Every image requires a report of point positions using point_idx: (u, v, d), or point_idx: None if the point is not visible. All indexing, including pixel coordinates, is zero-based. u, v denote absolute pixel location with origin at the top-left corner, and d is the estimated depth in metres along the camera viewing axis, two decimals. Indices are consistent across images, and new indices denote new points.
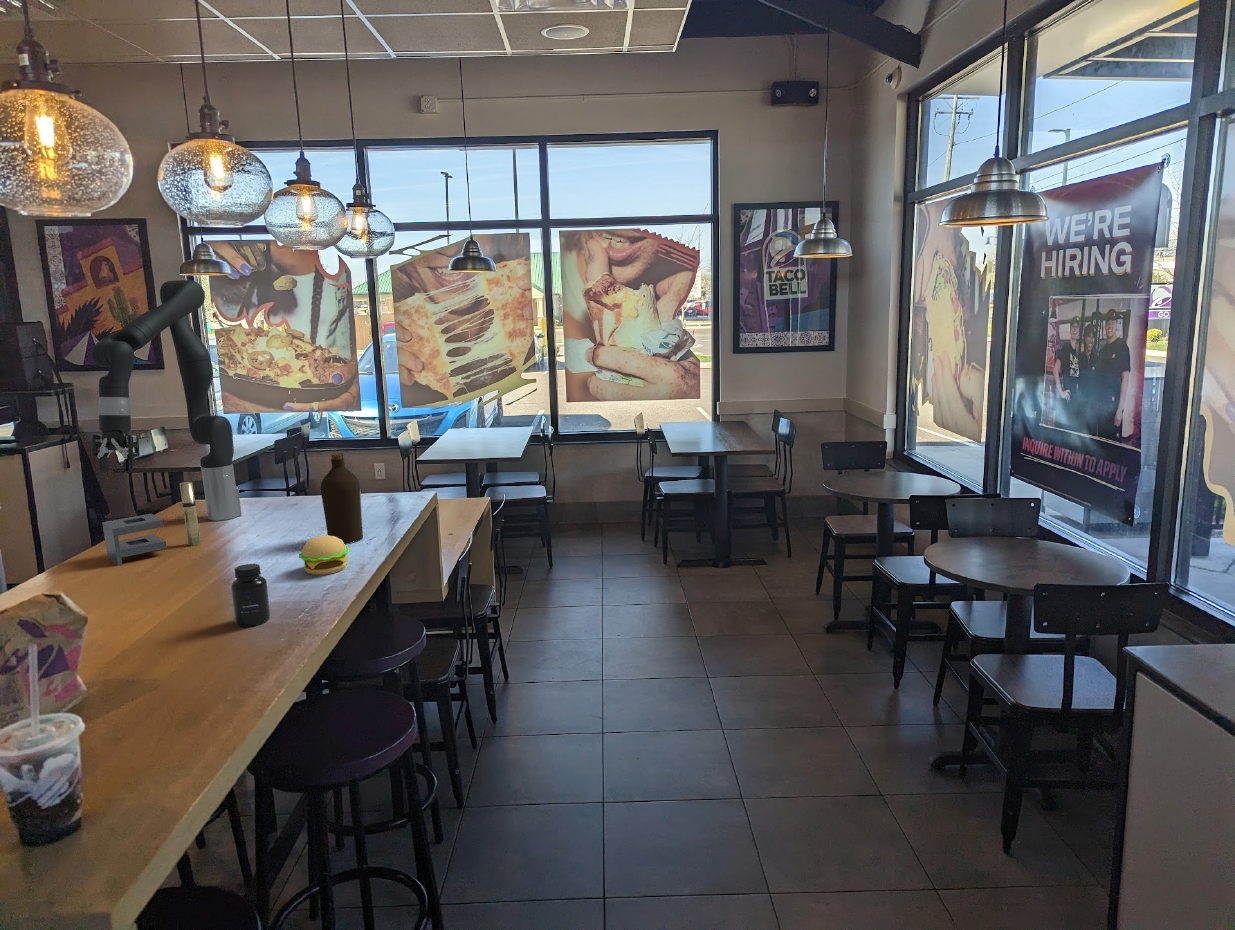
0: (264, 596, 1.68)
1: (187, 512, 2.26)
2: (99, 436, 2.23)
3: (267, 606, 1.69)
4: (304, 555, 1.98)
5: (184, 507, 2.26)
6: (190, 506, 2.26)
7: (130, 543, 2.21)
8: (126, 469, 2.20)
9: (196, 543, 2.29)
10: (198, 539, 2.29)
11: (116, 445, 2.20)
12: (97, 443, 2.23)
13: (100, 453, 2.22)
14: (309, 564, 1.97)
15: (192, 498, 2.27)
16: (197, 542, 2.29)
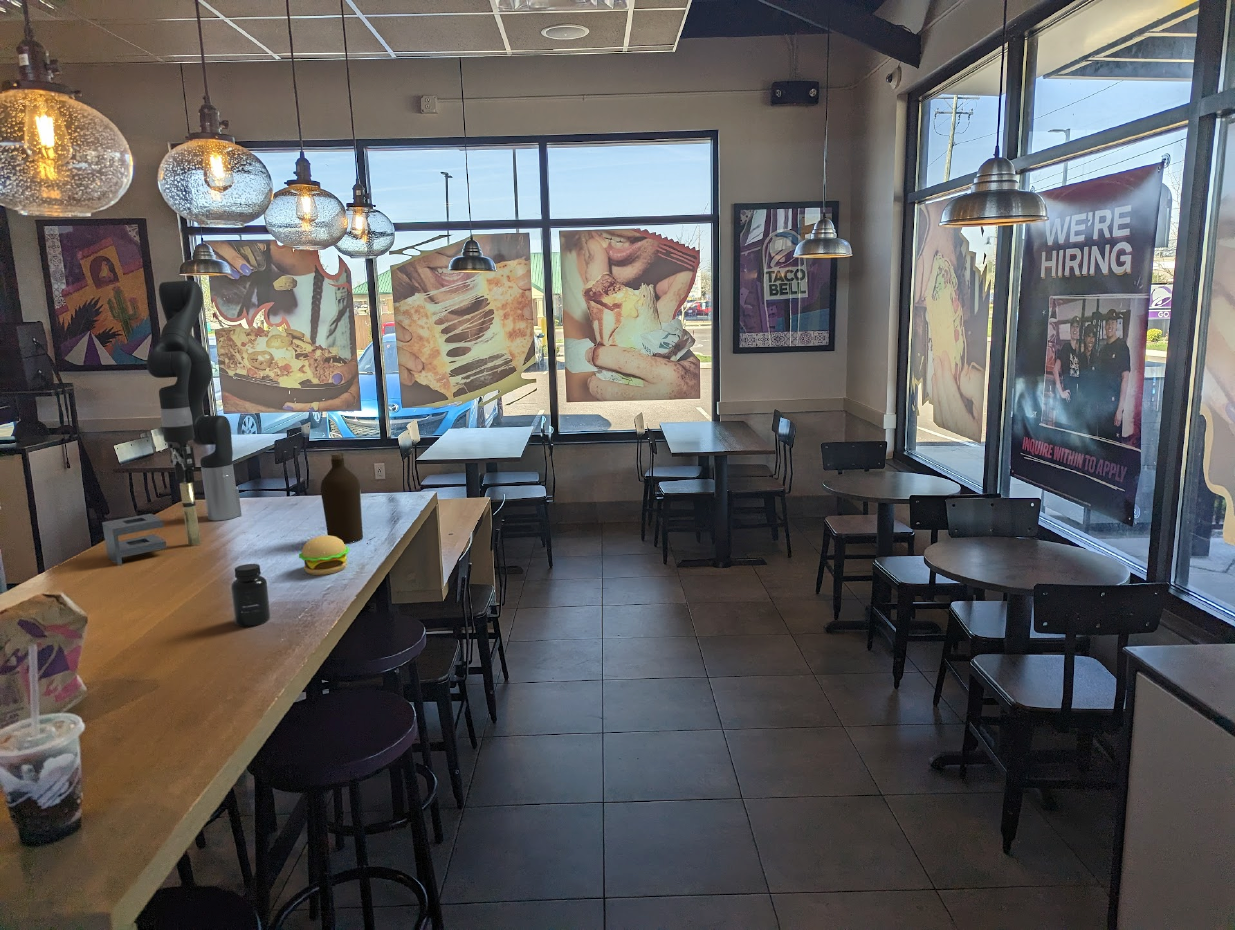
0: (265, 596, 1.68)
1: (187, 512, 2.26)
2: None
3: (267, 606, 1.69)
4: (304, 555, 1.98)
5: (184, 507, 2.26)
6: (190, 506, 2.26)
7: (130, 543, 2.21)
8: (186, 480, 2.22)
9: (196, 543, 2.29)
10: (198, 539, 2.29)
11: (177, 456, 2.22)
12: None
13: (173, 461, 2.27)
14: (309, 564, 1.97)
15: (192, 498, 2.27)
16: (197, 542, 2.29)
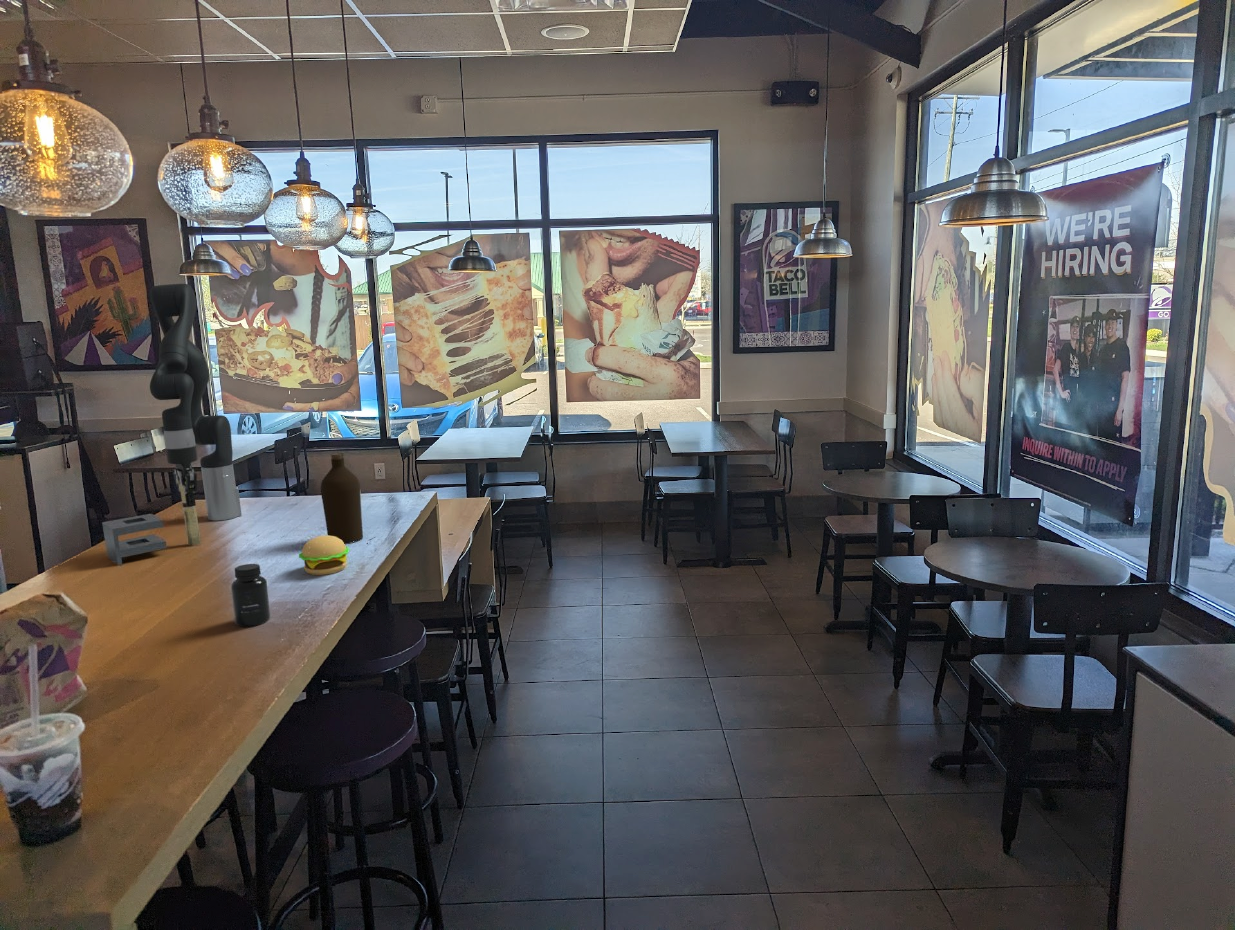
0: (264, 596, 1.68)
1: (187, 512, 2.26)
2: None
3: (267, 606, 1.69)
4: (304, 555, 1.98)
5: (184, 507, 2.26)
6: None
7: (130, 543, 2.21)
8: (187, 503, 2.25)
9: (196, 543, 2.29)
10: (198, 539, 2.29)
11: (180, 478, 2.24)
12: None
13: (179, 487, 2.27)
14: (309, 564, 1.97)
15: None
16: (197, 542, 2.29)
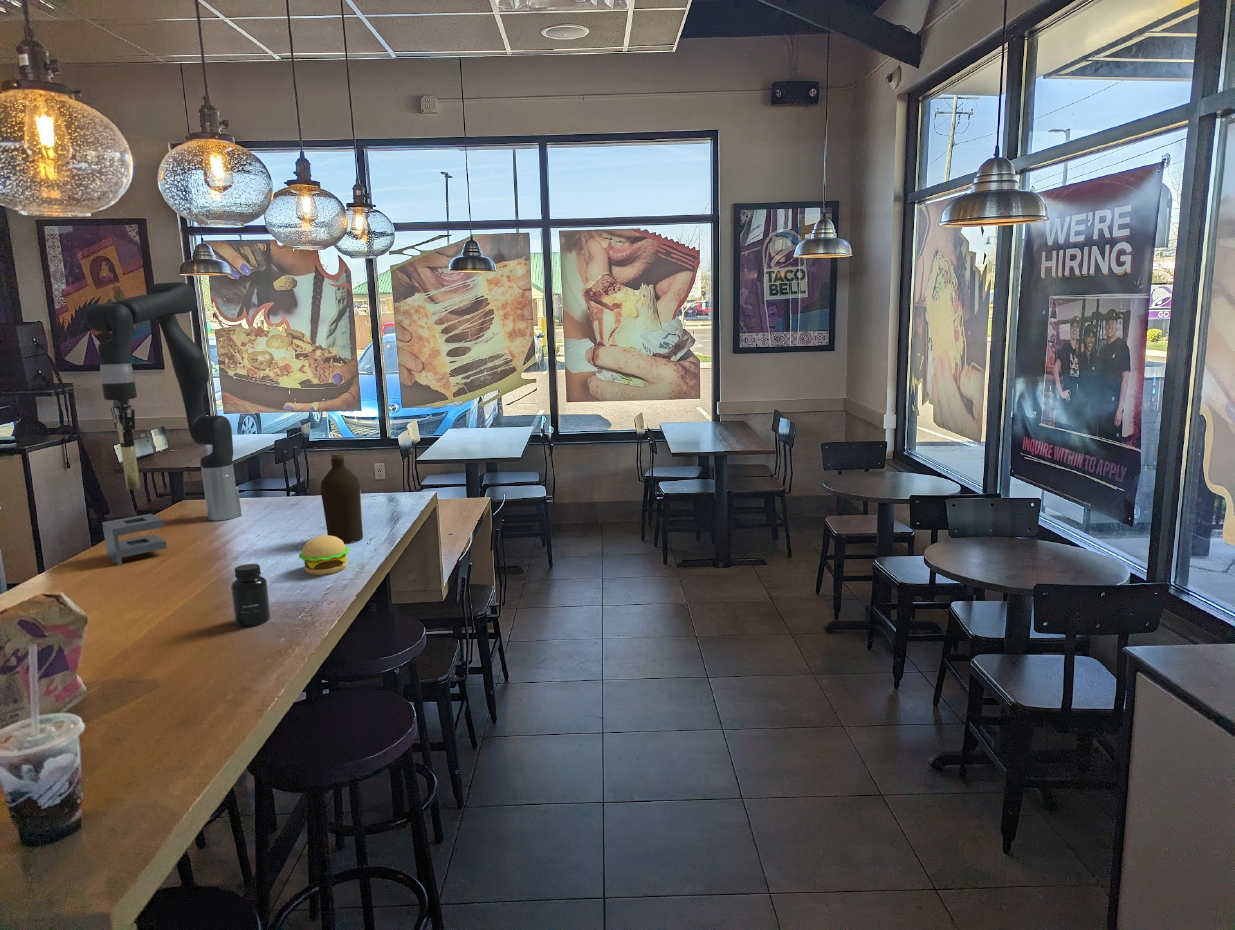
0: (265, 596, 1.68)
1: (125, 453, 2.14)
2: None
3: (267, 606, 1.69)
4: (304, 555, 1.98)
5: (122, 447, 2.14)
6: None
7: (130, 543, 2.21)
8: (125, 443, 2.13)
9: (135, 486, 2.16)
10: (137, 482, 2.16)
11: (117, 415, 2.11)
12: None
13: (117, 426, 2.15)
14: (309, 564, 1.97)
15: None
16: (135, 485, 2.16)
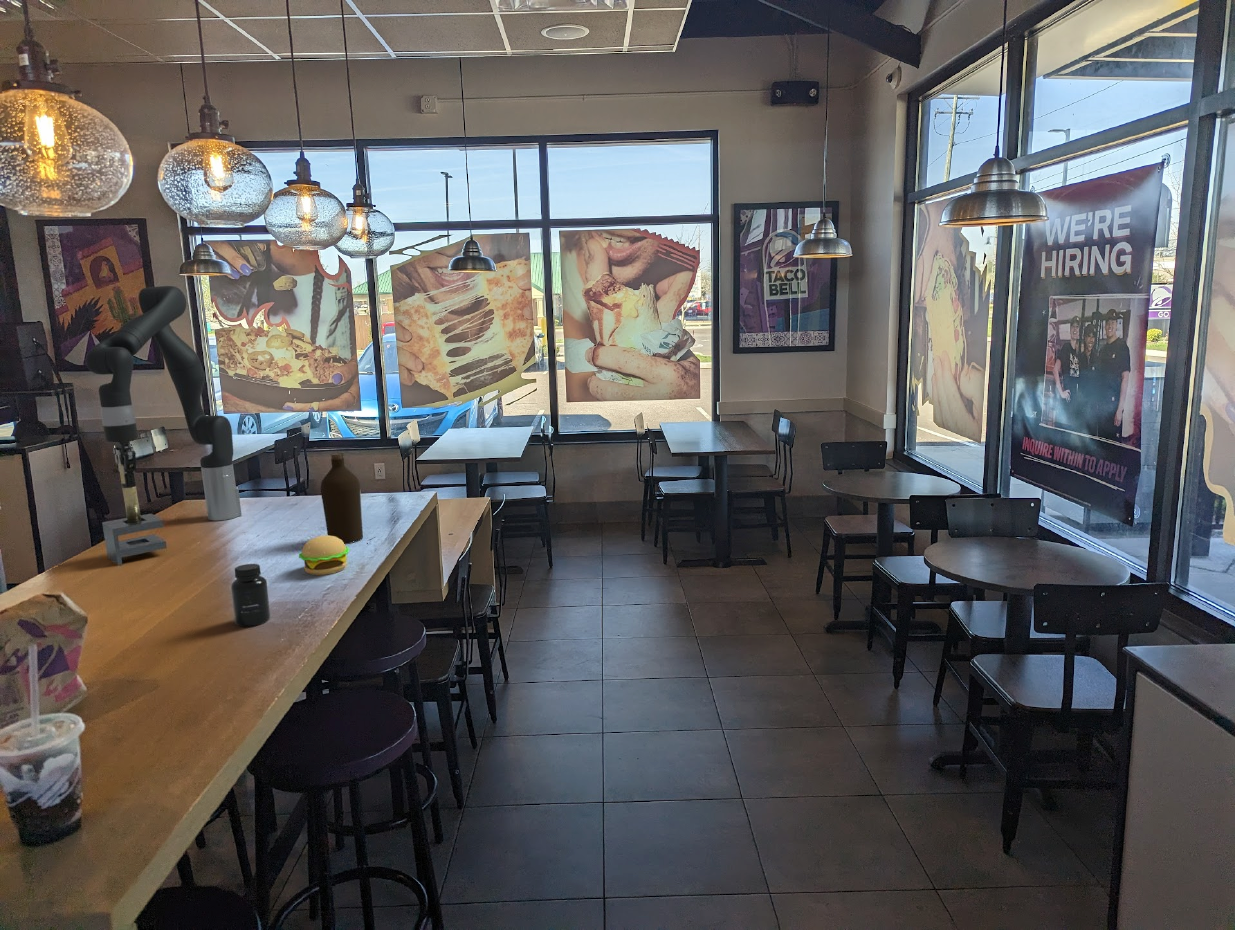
0: (264, 596, 1.68)
1: (127, 493, 2.15)
2: None
3: (267, 606, 1.69)
4: (304, 555, 1.98)
5: (123, 488, 2.15)
6: None
7: (130, 543, 2.21)
8: (127, 484, 2.14)
9: None
10: None
11: (118, 457, 2.13)
12: None
13: None
14: (309, 564, 1.97)
15: None
16: None
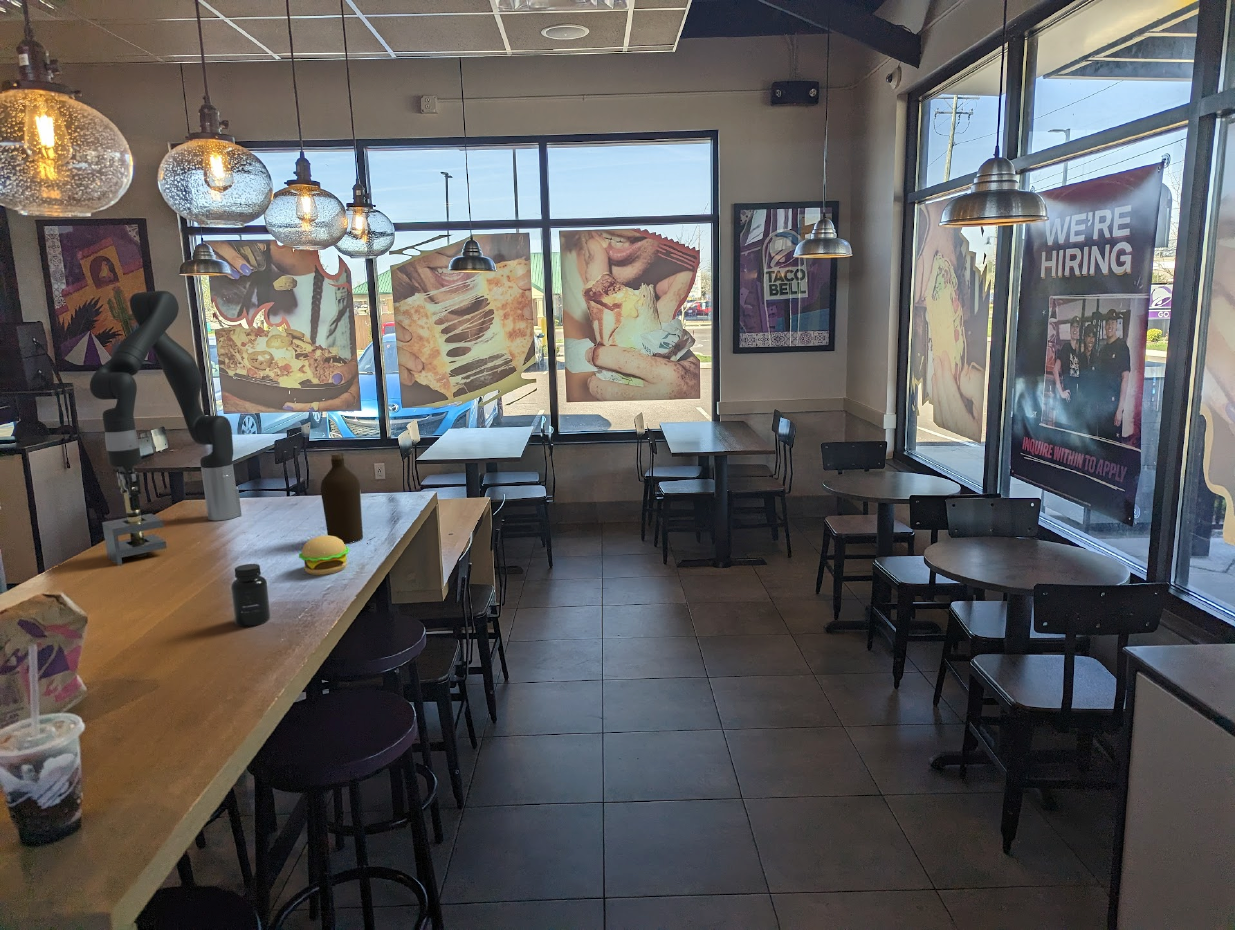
0: (265, 596, 1.68)
1: None
2: None
3: (267, 606, 1.69)
4: (304, 555, 1.98)
5: (128, 517, 2.17)
6: (134, 516, 2.17)
7: (130, 543, 2.21)
8: (131, 507, 2.14)
9: (141, 555, 2.19)
10: None
11: (122, 481, 2.14)
12: None
13: (121, 488, 2.18)
14: (309, 564, 1.97)
15: None
16: (142, 554, 2.19)
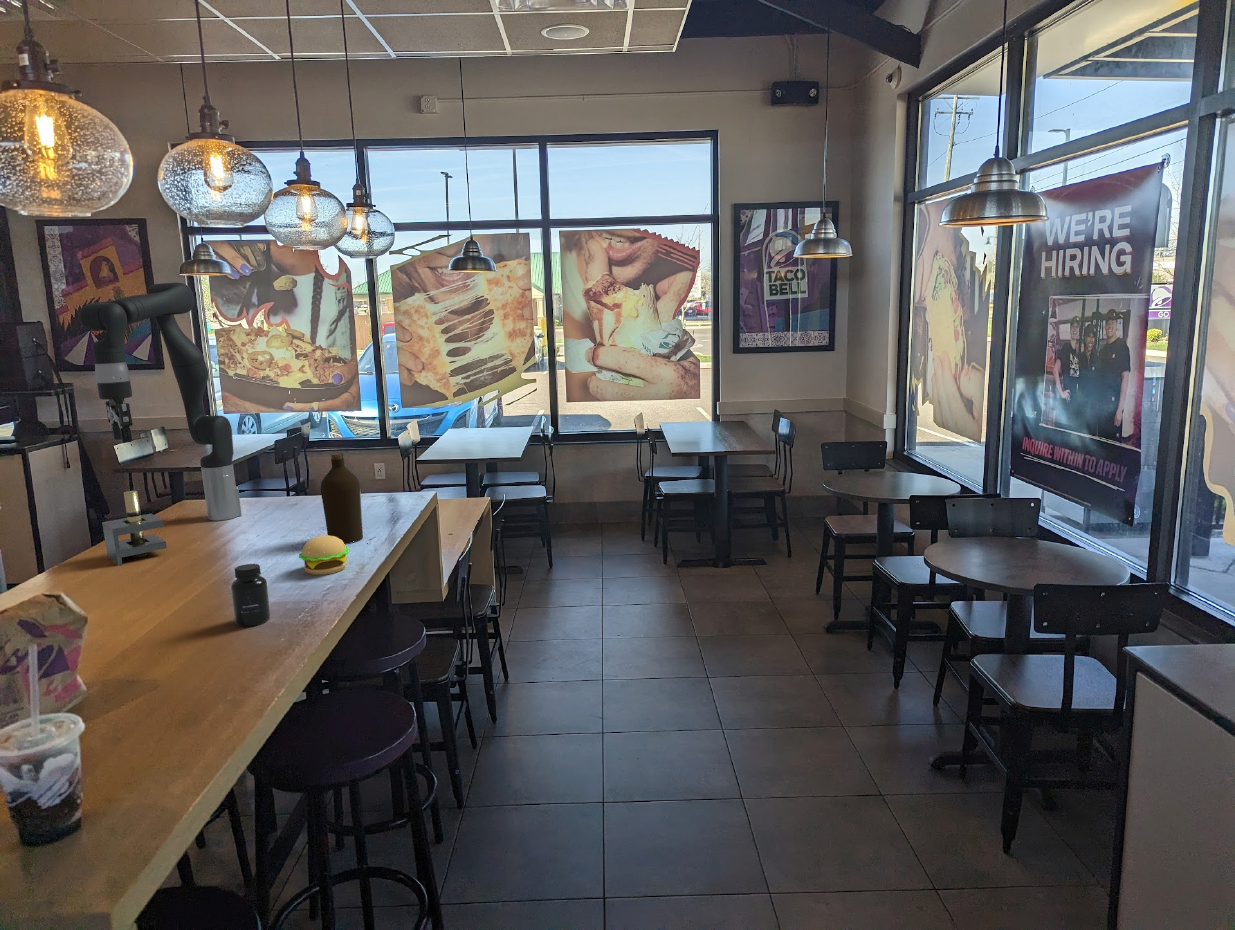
0: (265, 596, 1.68)
1: (132, 522, 2.17)
2: None
3: (267, 606, 1.69)
4: (304, 555, 1.98)
5: (128, 517, 2.17)
6: (134, 515, 2.17)
7: (130, 543, 2.21)
8: (123, 439, 2.11)
9: (141, 554, 2.19)
10: None
11: (113, 414, 2.11)
12: None
13: (110, 420, 2.16)
14: (309, 564, 1.97)
15: (137, 507, 2.17)
16: (142, 554, 2.19)
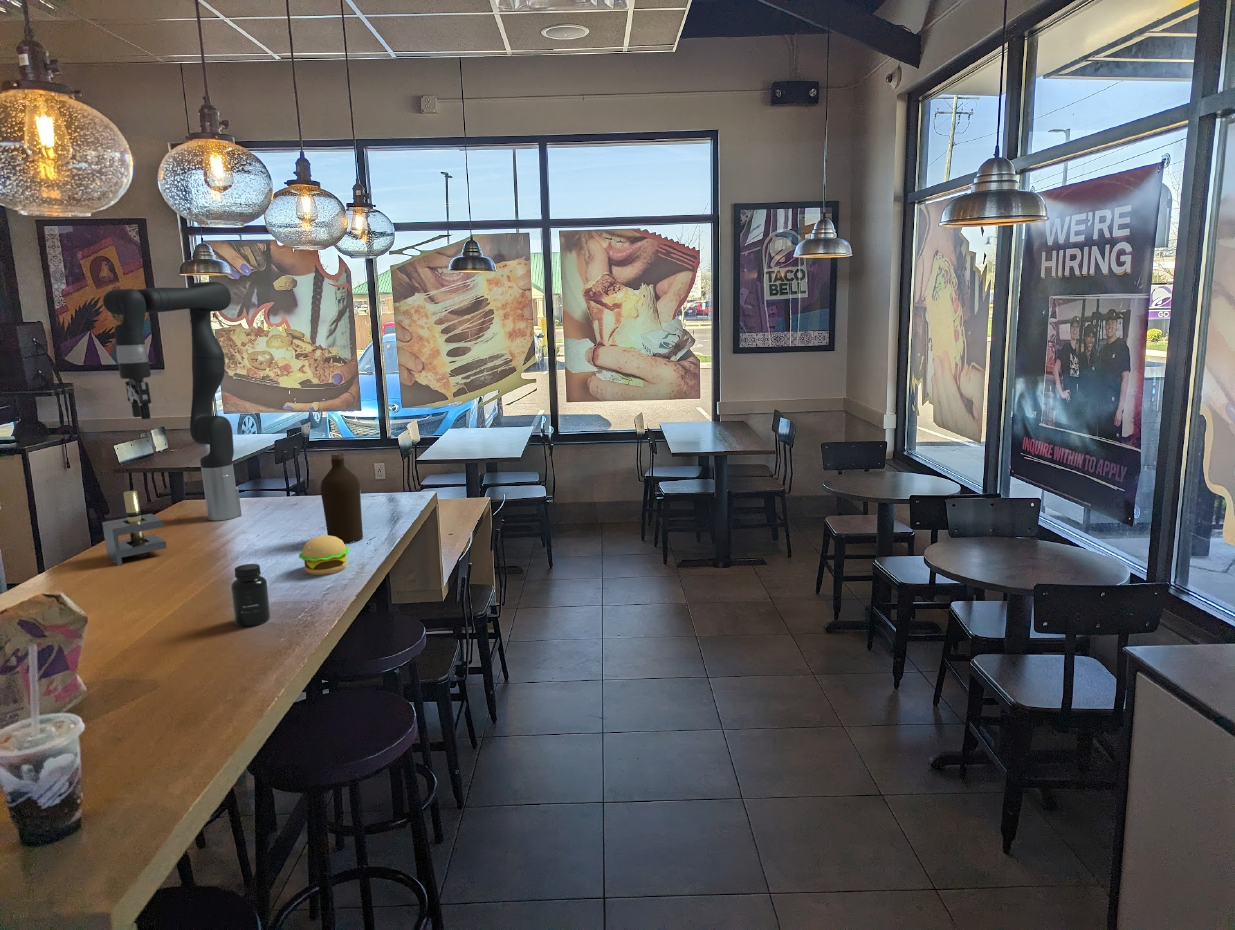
0: (264, 596, 1.68)
1: None
2: None
3: (267, 606, 1.69)
4: (304, 555, 1.98)
5: (128, 517, 2.17)
6: (134, 515, 2.17)
7: (130, 543, 2.21)
8: (142, 416, 2.26)
9: (141, 554, 2.19)
10: None
11: (133, 392, 2.26)
12: None
13: (130, 399, 2.31)
14: (309, 564, 1.97)
15: (137, 508, 2.17)
16: (142, 554, 2.19)
